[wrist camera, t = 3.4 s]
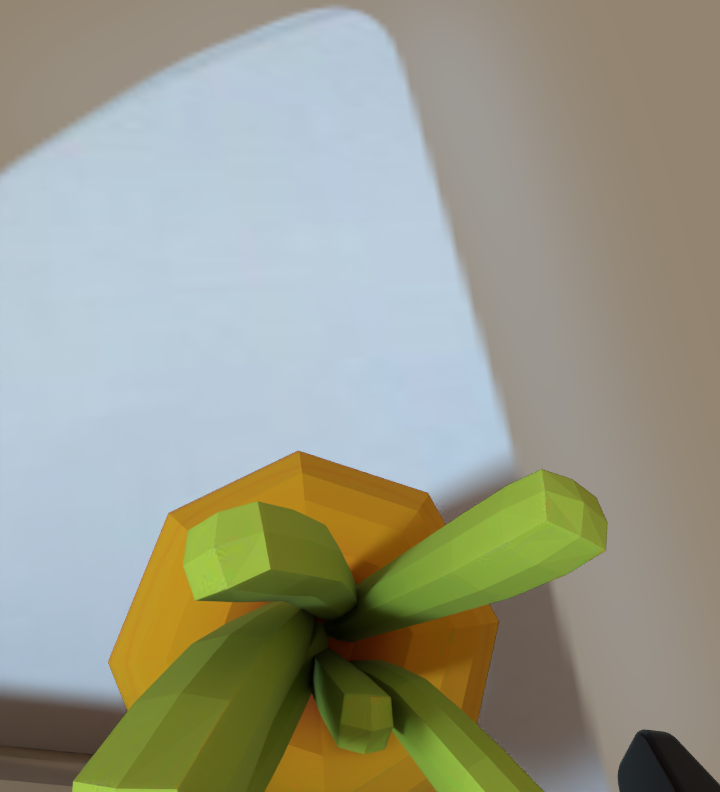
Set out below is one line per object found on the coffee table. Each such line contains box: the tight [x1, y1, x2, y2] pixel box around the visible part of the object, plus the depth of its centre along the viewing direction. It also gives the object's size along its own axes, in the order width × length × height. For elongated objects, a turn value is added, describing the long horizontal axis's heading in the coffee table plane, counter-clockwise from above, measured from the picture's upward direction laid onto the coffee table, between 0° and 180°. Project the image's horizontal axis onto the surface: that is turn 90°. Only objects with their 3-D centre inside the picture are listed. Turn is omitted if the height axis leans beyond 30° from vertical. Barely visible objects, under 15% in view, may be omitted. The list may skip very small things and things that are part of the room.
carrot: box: [72, 451, 607, 792], centre depth 11 cm, size 5×5×15 cm
